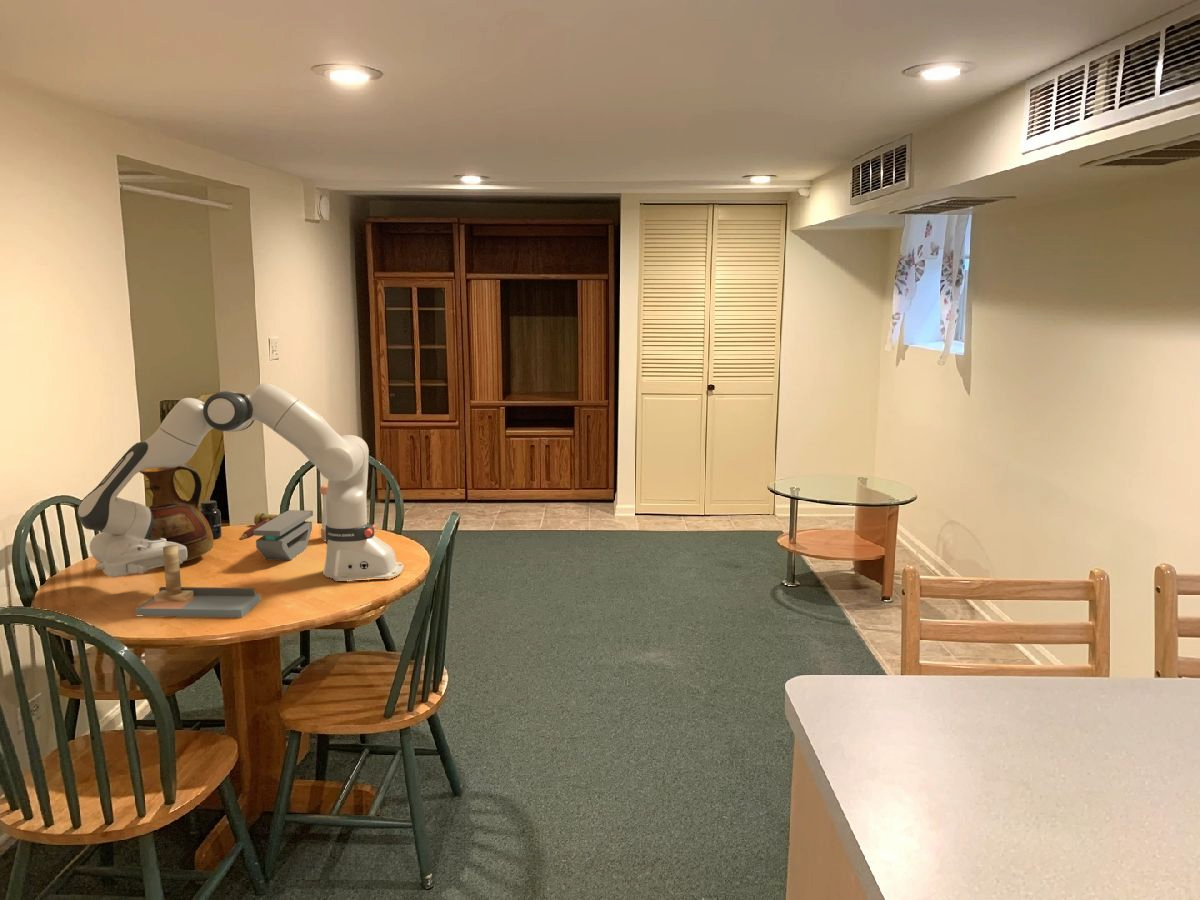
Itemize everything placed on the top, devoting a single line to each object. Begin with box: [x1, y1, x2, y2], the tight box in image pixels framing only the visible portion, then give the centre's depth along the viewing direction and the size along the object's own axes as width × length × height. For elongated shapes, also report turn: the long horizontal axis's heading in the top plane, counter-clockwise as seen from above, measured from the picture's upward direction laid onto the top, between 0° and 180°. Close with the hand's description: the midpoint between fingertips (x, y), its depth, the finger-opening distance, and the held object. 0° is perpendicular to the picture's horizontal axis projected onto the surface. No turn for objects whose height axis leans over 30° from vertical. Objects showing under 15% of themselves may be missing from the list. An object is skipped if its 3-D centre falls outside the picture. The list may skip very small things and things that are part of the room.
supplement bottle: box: [199, 500, 223, 540], centre depth 285 cm, size 7×7×12 cm
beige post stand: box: [153, 545, 194, 601], centre depth 222 cm, size 8×4×14 cm, turn 90°
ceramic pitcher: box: [139, 463, 214, 562], centre depth 259 cm, size 20×20×30 cm
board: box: [135, 586, 261, 618], centre depth 221 cm, size 26×12×4 cm, turn 90°
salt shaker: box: [319, 483, 328, 541], centre depth 285 cm, size 7×7×19 cm
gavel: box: [240, 512, 282, 540], centre depth 295 cm, size 21×5×10 cm
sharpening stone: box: [253, 509, 314, 561], centre depth 268 cm, size 25×8×11 cm, turn 177°
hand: (162, 565), depth 223 cm, fingers open, 8 cm apart
